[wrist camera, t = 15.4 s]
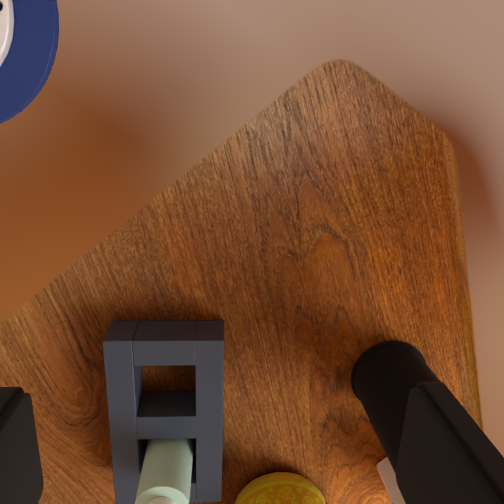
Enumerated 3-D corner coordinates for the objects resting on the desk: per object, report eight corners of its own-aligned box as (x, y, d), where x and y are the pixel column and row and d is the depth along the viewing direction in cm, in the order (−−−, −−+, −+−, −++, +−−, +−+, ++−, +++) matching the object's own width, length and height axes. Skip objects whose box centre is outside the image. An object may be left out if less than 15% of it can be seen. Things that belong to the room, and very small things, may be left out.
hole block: (123, 474, 49) (115, 505, 45) (112, 320, 43) (101, 341, 39) (221, 471, 49) (221, 502, 46) (223, 320, 43) (224, 340, 40)
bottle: (150, 453, 48) (131, 550, 38) (148, 417, 46) (128, 507, 36) (194, 452, 48) (187, 548, 38) (194, 416, 47) (187, 505, 36)
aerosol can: (377, 419, 49) (477, 620, 30) (335, 371, 46) (414, 556, 27) (439, 377, 47) (586, 558, 28) (399, 326, 45) (530, 485, 26)
